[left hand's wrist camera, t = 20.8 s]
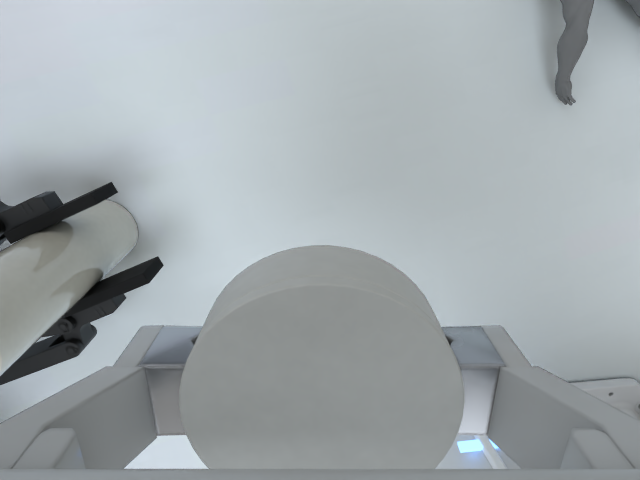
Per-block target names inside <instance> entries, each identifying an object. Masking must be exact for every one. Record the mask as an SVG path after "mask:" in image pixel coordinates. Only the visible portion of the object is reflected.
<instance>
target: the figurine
mask: <svg viewBox="0 0 640 480" xmlns="http://www.w3.org/2000/svg"><path fill="white" fill-rule="evenodd" d="M560 1H561V2H562V5H563V17H564V20H565V22H566V27H565V30H564V32H563V34H562V36H561V37H560V39H559V42H558V45H557V56H558V72H557V75H556V80H555V91H556V95H557V96H558V98H559V99H560V100H561V101H562V102H563V103H564V104H565V105H566V104H567V103H568V104H569V105H572V104H573V103H575V102H576V101H575V100H574V99H573V98H572V95H571V89H572V84H571V81H570V75H571V73H572V71H573V68H574V66H575V64H576V63H577V61H578V59H579V57H580V55H581V53H582V51H583V49H584V47H585V45H586V43H587V39H588V35H587V28H588V24H589V18H590V15H591V11H592V8H593V3H594V0H560ZM625 1H626V2H627V3H629V4H630V5H631V6H632V8H633V10H634V11H635V13H636V14H637V16H639V17H640V0H625ZM570 100H571V101H570ZM572 102H573V103H572Z"/></svg>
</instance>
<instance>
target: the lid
mask: <svg viewBox="0 0 640 480" xmlns="http://www.w3.org/2000/svg"><path fill="white" fill-rule="evenodd" d="M464 402H465V399H464V384H463V379H462V374H461V370H460V367H459V365H458V362H457V360H456V357H455V355H454V353H453V351H452V349H451V347H450V345H449V342H448V340H447V338H446V336H445V334H444V332H443V330H442V328H441V326H440V324H439V322H438V320H437V318H436V316H435V314H434V312H433V310H432V308H431V306H430V304H429V303H428V301H427V299H426V297H425V296H424V294H423V293H422V292H421V291H420V289H419V288H418V287H417V286H416V284H415V283H414V282H413V281H412V280H410V279H409V278H408V277H407V276H406V275H405V274H404V273H403V272H401V271H400V270H399V269H397V268H396V267H394V266H393V265H391V264H390V263H388V262H386V261H384V260H382V259H380V258H378V257H376V256H373V255H371V254H368V253H365V252H363V251H359V250H355V249H351V248H346V247H338V246H329V245H322V246H305V247H298V248H292V249H289V250H285V251H281V252H278V253H275V254H273V255H270V256H268V257H265V258H263V259H261V260H259V261H258V262H256V263H254V264H252V265H250V266H249V267H247V268H246V269H245V270H243V271H242V272H241V273H240V274H238V275H237V276H236V277H235V278H234V279H233V280H232V281H231V282H230V283H229V284H228V285H227V286H226V287H225V288H224V290H223V291H222V292H221V294H220V295H219V296H218V298H217V299H216V301H215V303H214V305H213V307H212V309H211V310H210V312H209V315H208V317H207V319H206V321H205V323H204V325H203V327H202V329H201V332H200V334H199V336H198V338H197V340H196V342H195V344H194V346H193V349H192V351H191V353H190V355H189V357H188V359H187V362H186V365H185V368H184V370H183V373H182V378H181V384H180V389H179V406H180V412H181V419H182V423H183V426H184V429H185V432H186V435H187V437H188V439H189V441H190V443H191V445H192V447H193V449H194V450H195V452H196V453H197V455H198V456H199V458H200V459H201V460H202V462H203V463H204V464H205V465H206V466H207V467H208V468H209V469H435V468H436V467H437V465H438V464H439V463H440V462H441V461H442V460H443V458H444V457H445V456H446V454H447V452H448V451H449V449H450V448H451V446H452V445H453V442H454V440H455V438H456V436H457V434H458V431H459V428H460V425H461V421H462V418H463V410H464Z"/></svg>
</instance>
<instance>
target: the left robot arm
mask: <svg viewBox="0 0 640 480" xmlns="http://www.w3.org/2000/svg"><path fill="white" fill-rule="evenodd" d="M202 327H203V326H164V325H154V326H143V327H141V328H140V329H139V330H138V332H137V333H136V334H135V336H134V337H133V339H132V340H131V342H130V343H129V344H128V346H127V347H126V349H125V350H124V351H123V353H122V354H121V356H120V357H119V358H118V360H117V361H116V363H115V364H114V366H113V367H105V368H103V369H101V370H99V371H97V372H95V373H93V374H92V375H90V376H88V377H86V378H84V379H82V380H80V381H78V382H77V383H75V384H73V385H71V386H69V387H67V388H65V389H64V390H62V391H60V392H58V393H56V394H54V395H52V396H50V397H49V398H47V399H45V400H43V401H41V402H39V403H37V404H35V405H34V406H32V407H30V408H28V409H26V410H24V411H22V412H21V413H19V414H17V415H15V416H13V417H11V418H9V419H7V420H6V421H4V422H2V423H0V480H640V383H639V382H637V381H636V380H635V379H632V378H620V379H608V380H597V381H586V382H574V383H568V382H566V381H564V380H563V379H561V378H559V377H557V376H555V375H553V374H551V373H549V372H548V371H546V370H544V369H542V368H540V367H532V366H531V365H530V363H529V362H528V361H527V359H526V358H525V357H524V355H523V354H522V352H521V351H520V350H519V348H518V347H517V346H516V344H515V343H514V341H513V340H512V339H511V337H510V336H509V335H508V333H507V332H506V331H505V329H504V328H503V327H502V326H500V325H491V326H463V327H441V328H442V330H443V332H444V334H445V336H446V338H447V340H448V342H449V345H450V347H451V349H452V351H453V353H454V355H455V357H456V360H457V362H458V365H459V367H460V370H461V374H462V379H463V384H464V399H465V402H464V410H463V418H462V421H461V425H460V428H459V431H458V434H457V436H456V438H455V440H454V442H453V445H452V446H451V448H450V449H449V451H448V452H447V454H446V456H445V457H444V458H443V460H442V461H441V462H440V463H439V464H438V465H437V467H436V468H435V469H124V468H125V467H126V466H127V465H128V464H129V463H130V462H131V461H132V460H133V459H134V458H135V457H136V456H138V455H139V454H140V453H141V452H142V451H143V450H144V449H145V448H146V447H147V446H148V445H149V444H151V443H152V442H153V441H154V440H155V439H156V438H157V436H161V435H186V432H185V429H184V426H183V423H182V419H181V412H180V406H179V389H180V384H181V378H182V373H183V370H184V368H185V365H186V362H187V359H188V357H189V355H190V353H191V351H192V349H193V346H194V344H195V342H196V340H197V338H198V336H199V334H200V332H201V329H202Z"/></svg>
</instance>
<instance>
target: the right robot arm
mask: <svg viewBox="0 0 640 480" xmlns="http://www.w3.org/2000/svg"><path fill="white" fill-rule="evenodd" d="M117 192H118V191H117V190H116V188H115V187H114V185H113V183H112V182H110V183H108V184H106V185H104V186H102V187H100V188H97V189H95V190H93V191H91V192H89V193H87V194H85V195H82V196H80V197H78V198H76V199H74V200H72V201H70V202H67V203H65V204H63V203H62V202H61V200H60V199H59V197H58V196H57V194H56V193H55V191H53V192H45V193H42V194H40V195H38V196H35V197H33V198H31V199H29V200H27V201H25V202H23V203H20V204H18V205H16V206H8V205H5V204H4V203H2V202H1V201H0V245H1V244H2V243H3V242H4V241H5V240H6V239H8V241H9V242H10V243H11V244H12V243H14V242H16V241H18V240H20V239H23V238H25V237H27V236H29V235H31V234H33V233H36V232H38V231H40V230H42V229H44V228H47V227H49V226H51V225H53V224H55V223H57V222H60V221H62V220H64V219H66V218H68V217H71V216H73V215H75V214H77V213H79V212H81V211H84V210H86V209H88V208H90V207H92V206H95V205H97V204H99V203H100V202H102V201H104V200H105V199H107V198H109V197H111V196H112V195H114V194H116V193H117ZM163 266H164V265H163V264H162V262H161V260H160V259H159V257H155V258H153V259H151V260H148V261H146V262H144V263H141V264H139V265H137V266H134V267H132V268H130V269H127V270H125V271H122V272H120V273H118V274H115V275H113V276H111V277H108V278H106V279H104V280H101V281H99V282H98V283H97V284H96V285H95V286H94V287H93V288H92V289H91V290H90V291H89V292H88V293H87V294H86V295H85V296H84V297H83V298H82V299H81V300H79V301H78V302H77V303H76V304H75V305H74V306H73V307H72V308H71V309H70V310H69V311H68V312H67V313H66V314H65V315H64V316H63V317H62V318H61V319H60V320H59V321H57V322H56V323H55V324H54V325H53V326H52V327H51V328H50V329H49V330H48V331H47V332H46V333H45V334H44V335H43V336H42V337H46V336H52V337H50V338H47V339H45V340H42V341H40V342H37V343H34V344H33V345H32V346H31V347H30V348H29V349H28V350H27V351H26V352H25V353H24V354H23V355H22V356H21V357H20V358H19V359H18V360H17V361H16V362H15V363H14V364H12V365H11V366H10V367H9V368H8V369H7V370H6V371H5V372H4V373H3V374H2V375H1V376H0V385H2V384H5V383H7V382H10V381H13V380H15V379H18V378H21V377H23V376H26V375H29V374H31V373H34V372H37V371H39V370H42V369H45V368H47V367H50V366H53V365H55V364H58V363H61V362H63V361H66V360H69V359H71V358H74V357H76V356H78V355H79V354H80V353H81V352H82V351H83V349H84V348H85V347H86V346H87V345H88V344H89V342H90V341H91V340H92V339H93V338H94V337H95V336H96V334H97V330H96V328H95V327H94V326H93V325H91V324H90V322H92V321H94V320H97V319H99V318H102V317H104V316H107V315H109V314H111V313H113V312H114V311H115V310H116V309H117V308H118V307H119V306H120V305H121V303H122V302H123V301H124V300H125V299H126V297H125V295H124V293H126V292H128V291H131V290H133V289H136V288H138V287H141V286H143V285H145V284H148V283H150V281H151V280H152V279H153V278H154V276H155V275H156V274H157V273H158V272H159V270H160V269H161V268H162V267H163ZM53 335H55V336H53Z"/></svg>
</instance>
